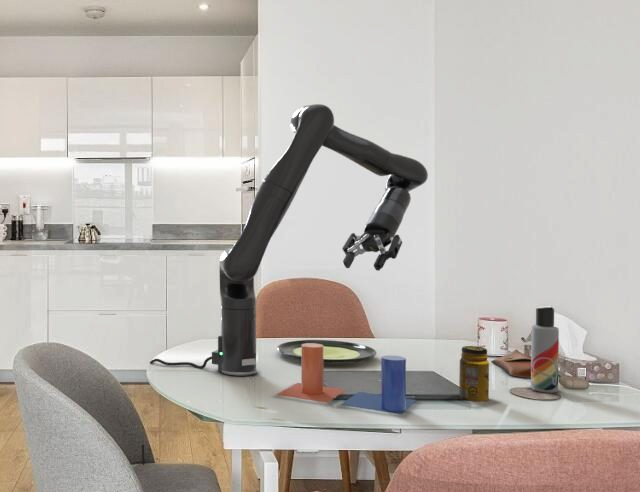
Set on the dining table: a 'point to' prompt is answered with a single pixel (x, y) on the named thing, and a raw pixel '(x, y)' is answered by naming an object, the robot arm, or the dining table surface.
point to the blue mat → (371, 402)
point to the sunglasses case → (515, 364)
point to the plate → (330, 350)
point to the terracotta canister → (312, 369)
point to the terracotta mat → (325, 397)
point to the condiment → (474, 374)
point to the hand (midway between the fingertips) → (360, 267)
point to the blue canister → (393, 383)
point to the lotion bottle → (544, 352)
